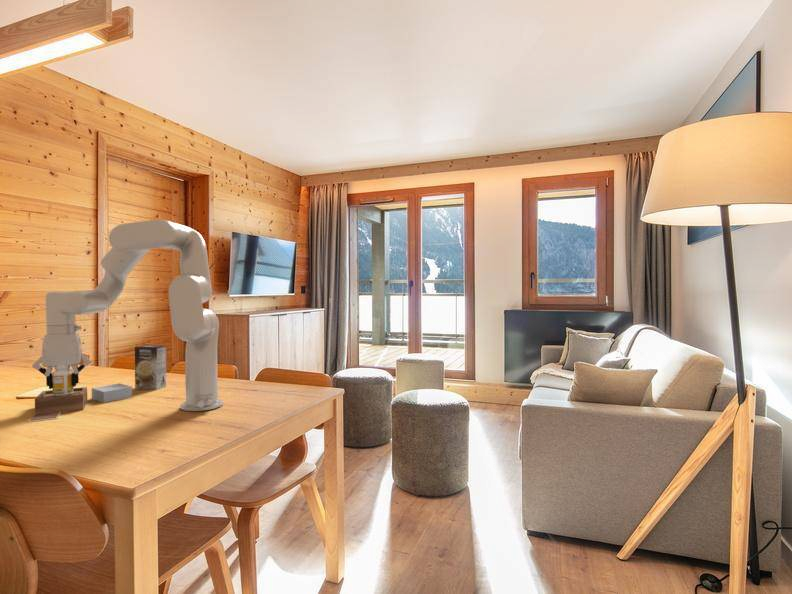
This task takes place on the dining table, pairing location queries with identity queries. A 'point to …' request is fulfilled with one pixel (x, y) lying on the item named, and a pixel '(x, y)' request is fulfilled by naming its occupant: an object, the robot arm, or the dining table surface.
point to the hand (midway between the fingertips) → (62, 386)
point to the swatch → (44, 416)
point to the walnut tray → (61, 401)
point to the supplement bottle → (62, 381)
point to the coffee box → (150, 367)
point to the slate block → (111, 392)
